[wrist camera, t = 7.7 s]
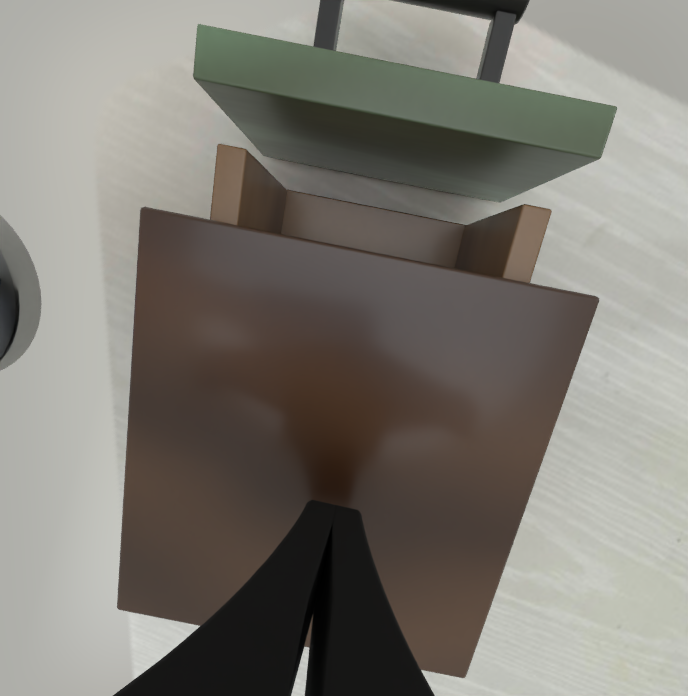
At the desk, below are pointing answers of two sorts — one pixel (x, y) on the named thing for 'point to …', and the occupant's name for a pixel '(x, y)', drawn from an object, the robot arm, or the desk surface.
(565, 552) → the desk surface
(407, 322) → the cabinet
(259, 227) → the drawer
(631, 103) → the desk surface
